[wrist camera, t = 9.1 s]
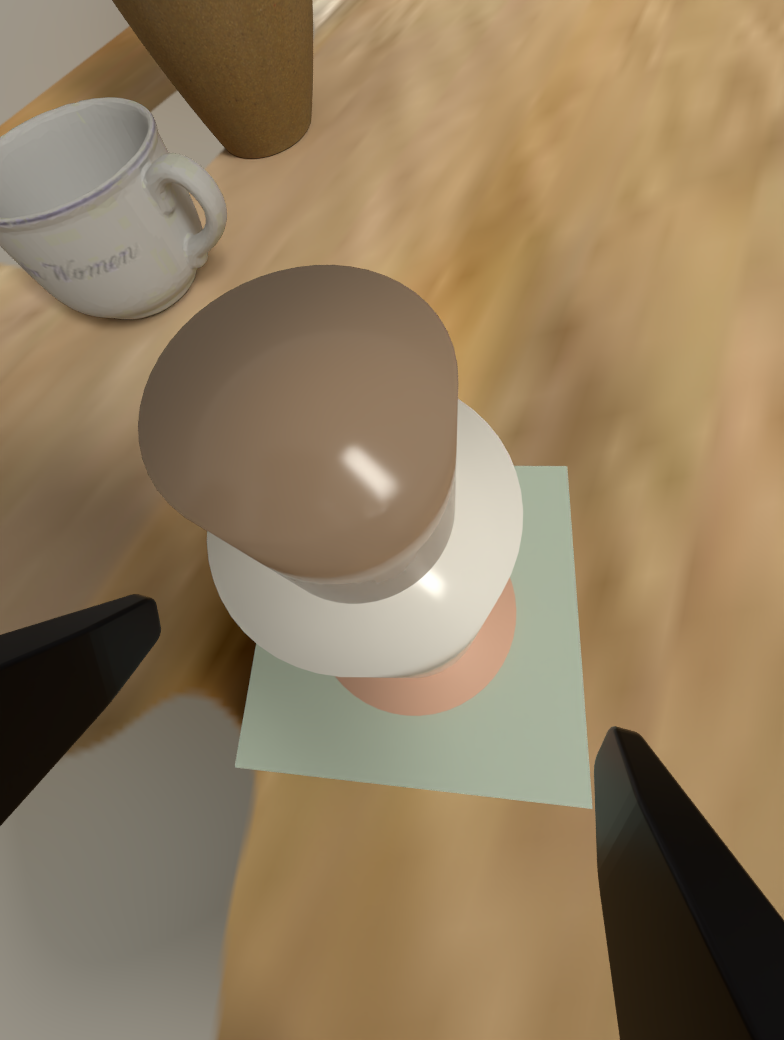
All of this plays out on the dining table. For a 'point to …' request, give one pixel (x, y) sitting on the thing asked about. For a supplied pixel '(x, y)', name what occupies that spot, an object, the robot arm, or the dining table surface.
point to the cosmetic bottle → (335, 472)
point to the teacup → (105, 209)
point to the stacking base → (453, 692)
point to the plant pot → (235, 65)
